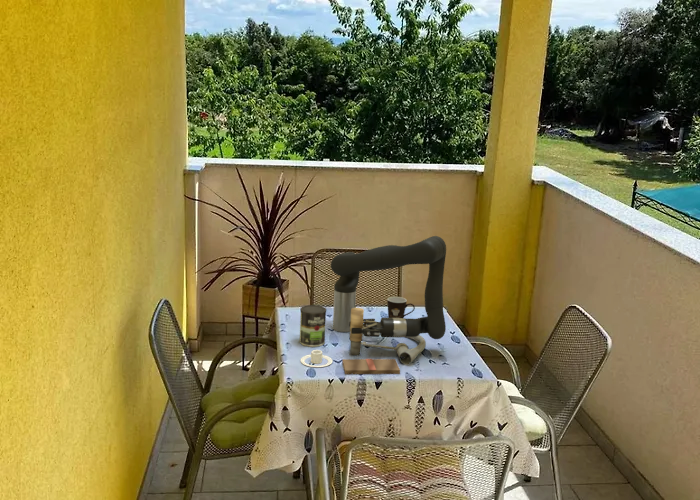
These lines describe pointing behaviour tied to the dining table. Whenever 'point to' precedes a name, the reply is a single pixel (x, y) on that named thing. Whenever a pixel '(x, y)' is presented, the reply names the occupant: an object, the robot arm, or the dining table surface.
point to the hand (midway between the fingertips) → (350, 327)
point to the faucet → (405, 349)
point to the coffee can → (312, 325)
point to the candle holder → (316, 358)
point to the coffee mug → (397, 307)
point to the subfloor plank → (370, 366)
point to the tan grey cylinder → (356, 323)
